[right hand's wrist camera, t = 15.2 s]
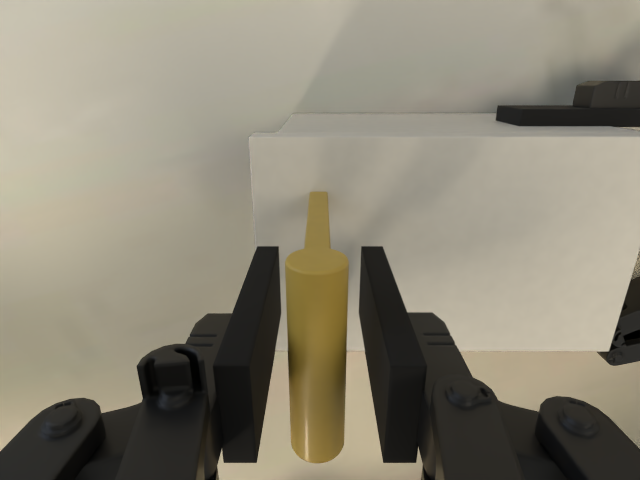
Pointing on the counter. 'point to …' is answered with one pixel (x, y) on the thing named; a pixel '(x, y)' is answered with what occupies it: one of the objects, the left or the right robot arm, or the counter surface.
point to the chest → (419, 123)
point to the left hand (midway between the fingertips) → (491, 218)
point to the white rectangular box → (442, 244)
